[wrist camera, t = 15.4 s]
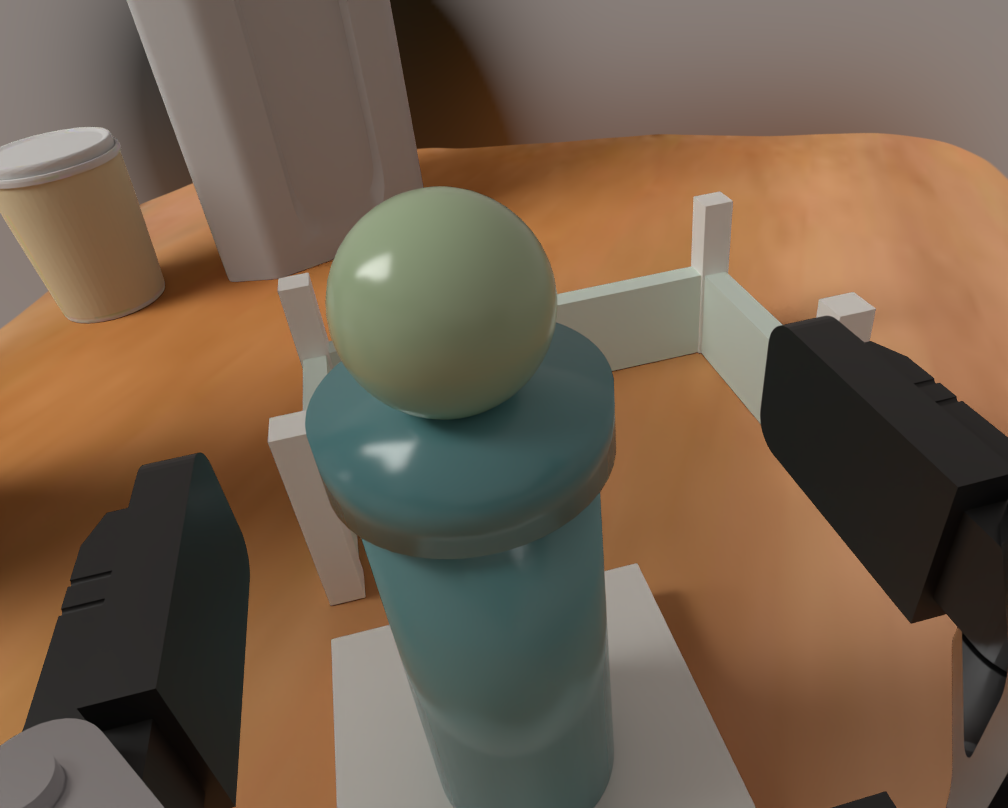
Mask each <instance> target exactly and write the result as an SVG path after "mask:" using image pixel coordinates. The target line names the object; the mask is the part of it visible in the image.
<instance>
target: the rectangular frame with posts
mask: <svg viewBox="0 0 1008 808" xmlns="http://www.w3.org/2000/svg"><path fill="white" fill-rule="evenodd" d="M732 208H733V201H732V200H731V199H729V198H728V197H727V196H725V195H724V194H723V193H721V192H715V193H710V194H705V195H700V196H695V197H694V201H693V229H692V257H691V267H687V268H682V269H677V270H672V271H667V272H663V273H658V274H653V275H648V276H643V277H638V278H634V279H629V280H624V281H619V282H614V283H609V284H605V285H600V286H595V287H590V288H585V289H580V290H576V291H571V292H566V293H561V294H557V318H556V322H557V323H560V324H562V325H565V326H567V327H569V328H571V329H573V330H575V331H577V332H579V333H580V334H582V335H583V336H585V337H586V338H588V339H589V340H590V341H591V342H593V343H594V344H595V345H596V346H597V347H598V348H599V349H600V351H601V352H602V353H603V354H604V356H605V357H606V359H607V361H608V363H609V365H610V367H611V370H612V371H614V370H619V369H623V368H628V367H633V366H637V365H642V364H646V363H651V362H655V361H660V360H664V359H669V358H673V357H678V356H683V355H687V354H692V353H696V352H698V353H702V354H703V355H704V357H705V358H706V359H707V360H708V361H709V363H710V364H711V365H712V366H713V367H714V369H715V370H716V371H717V372H718V373H719V375H720V376H721V377H722V378H723V379H724V381H725V382H726V383H727V384H728V385H729V387H730V388H731V389H732V390H733V391H734V393H735V394H736V395H737V396H738V397H739V399H740V400H741V401H742V402H743V403H744V404H745V406H746V407H747V408H748V409H749V410H750V412H751V413H752V414H753V415H754V416H755V418H756V419H757V420H758V421H759V422H760V424H761V421H760V409H761V400H762V392H763V384H764V376H765V367H766V359H767V351H768V343H769V338H770V335H771V332H772V331H773V329H774V328H776V327H777V326H781V325H782V324H781V323H780V322H779V321H778V320H777V319H776V318H775V317H774V316H773V315H772V314H770V313H769V312H768V311H767V310H766V309H765V308H764V307H763V306H762V305H761V304H760V303H759V302H758V301H757V300H755V299H754V298H753V297H752V296H751V295H750V294H749V293H748V292H747V291H746V290H745V289H744V288H743V287H742V286H740V285H739V284H738V283H737V282H736V281H735V280H734V279H733V278H732V277H731V276H730V275H729V274H728V267H729V252H730V238H731V223H732ZM278 294H279V297H280V300H281V303H282V306H283V309H284V312H285V315H286V319H287V322H288V325H289V328H290V331H291V334H292V337H293V340H294V343H295V346H296V349H297V352H298V355H299V359H300V362H301V365H302V368H303V411H300V412H295V413H291V414H286V415H282V416H277V417H272V418H269V432H268V444H269V447H270V449H271V452H272V455H273V457H274V460H275V462H276V465H277V468H278V470H279V473H280V475H281V478H282V481H283V483H284V486H285V488H286V491H287V494H288V496H289V499H290V501H291V504H292V507H293V509H294V512H295V514H296V517H297V520H298V522H299V525H300V527H301V530H302V533H303V535H304V538H305V540H306V543H307V546H308V548H309V551H310V553H311V556H312V559H313V561H314V564H315V566H316V569H317V572H318V574H319V577H320V579H321V582H322V585H323V587H324V590H325V592H326V595H327V598H328V600H329V603H330V605H331V606H332V605H336V604H340V603H344V602H348V601H352V600H357V599H361V598H365V597H366V596H365V584H364V572H363V569H362V566H361V563H360V560H359V552H358V540H357V535H356V534H355V533H354V532H352V531H351V530H350V529H348V528H347V527H346V526H345V524H344V523H343V522H342V521H341V520H340V519H339V518H338V517H337V515H336V513H335V512H334V510H333V509H332V507H331V505H330V502H329V499H328V496H327V494H326V491H325V488H324V485H323V482H322V479H321V476H320V474H319V471H318V468H317V465H316V462H315V459H314V456H313V453H312V450H311V448H310V445H309V442H308V439H307V436H306V429H305V418H306V411H307V408H308V405H309V401H310V399H311V397H312V395H313V393H314V391H315V389H316V388H317V386H318V385H319V384H320V382H321V381H322V380H323V378H324V377H325V376H326V375H327V374H328V373H329V372H330V371H331V370H332V369H333V368H334V367H335V366H336V365H337V364H338V363H339V362H341V359H340V357H339V355H338V353H337V351H336V349H335V347H334V344H333V341H328V337H327V334H326V330H325V327H324V324H323V320H322V317H321V313H320V310H319V307H318V303H317V300H316V296H315V293H314V290H313V286H312V283H311V279H310V276H309V273H304V274H299V275H293V276H288V277H283V278H279V280H278ZM875 311H876V309H875V308H874V307H873V306H871V305H870V304H869V303H867V302H866V301H865V300H863V299H862V298H861V297H859V296H858V295H857V294H856V293H854V292H851V293H846V294H842V295H837V296H832V297H828V298H823V299H819V303H818V310H817V316H816V318H817V317H822V316H826V315H827V316H832V317H834V318H835V319H837V320H838V321H839V322H841V323H842V324H843V325H844V326H845V327H847V328H848V329H849V330H850V331H851V332H853V333H854V334H855V335H856V336H857V337H859V338H860V339H861V340H862V341H863V342H869V341H870V336H871V331H872V326H873V321H874V316H875Z"/></svg>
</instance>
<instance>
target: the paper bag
mask: <svg viewBox="0 0 1008 808" xmlns="http://www.w3.org/2000/svg"><path fill="white" fill-rule="evenodd" d="M127 2H128V5H129V8H130V11H131V13H132V16H133V19H134V22H135V24H136V27H137V30H138V32H139V35H140V38H141V41H142V43H143V46H144V49H145V52H146V55H147V57H148V60H149V62H150V65H151V68H152V71H153V73H154V76H155V79H156V82H157V85H158V87H159V90H160V93H161V96H162V98H163V101H164V104H165V106H166V109H167V112H168V115H169V117H170V120H171V123H172V126H173V129H174V131H175V134H176V137H177V139H178V142H179V145H180V148H181V151H182V153H183V156H184V158H185V162H186V164H187V167H188V170H189V172H190V175H191V178H192V180H193V183H194V186H195V189H196V192H197V194H198V197H199V200H200V203H201V205H202V208H203V211H204V214H205V216H206V219H207V222H208V225H209V227H210V230H211V233H212V236H213V238H214V241H215V244H216V247H217V249H218V252H219V255H220V258H221V260H222V263H223V266H224V268H225V271H226V274H227V277H228V279H229V280H230V281H231V282H241V281H255V280H269V279H278V278H282V277H286V276H289V275H291V274H294V273H297V272H300V271H302V270H305V269H308V268H311V267H314V266H316V265H319V264H322V263H325V262H327V261H330V260H333V259H334V258H335V255H336V253H337V250H338V248H339V247H340V245H341V243H342V242H343V240H344V238H345V237H346V235H347V234H348V232H349V231H350V230H351V229H352V228H353V226H354V225H355V224H356V223H357V222H358V221H359V220H360V219H361V218H362V217H363V216H364V215H365V214H367V213H368V212H369V211H370V210H371V209H373V208H374V207H375V206H377V205H378V204H380V203H382V202H384V201H386V200H387V199H389V198H391V197H393V196H395V195H398V194H400V193H403V192H406V191H410V190H414V189H419V188H423V182H422V177H421V171H420V165H419V160H418V154H417V149H416V143H415V138H414V133H413V128H412V122H411V116H410V111H409V105H408V100H407V94H406V88H405V83H404V78H403V72H402V66H401V61H400V55H399V50H398V44H397V39H396V34H395V28H394V22H393V17H392V11H391V6H390V0H127Z"/></svg>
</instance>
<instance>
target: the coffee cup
mask: <svg viewBox="0 0 1008 808" xmlns="http://www.w3.org/2000/svg"><path fill="white" fill-rule="evenodd" d="M120 151H121V146H120V144H119V141H118V140H117V139H116V138H115V137H113V136H112V134H111V133H110V132H109V131H108V130H107V129H104V128H98V127H81V128H71V129H65V130H59V131H53V132H48V133H44V134H39V135H35V136H31V137H28V138H24V139H21V140H18V141H15V142H12V143H9V144H6V145H4V146H1V147H0V213H1V214H2V216H3V218H4V220H5V221H6V223H7V224H8V226H9V228H10V229H11V231H12V232H13V234H14V236H15V238H16V239H17V241H18V242H19V244H20V246H21V247H22V249H23V250H24V252H25V254H26V255H27V257H28V259H29V260H30V261H31V263H32V265H33V267H34V268H35V270H36V271H37V273H38V274H39V276H40V278H41V279H42V281H43V283H44V284H45V286H46V287H47V289H48V291H49V292H50V294H51V295H52V297H53V299H54V300H55V302H56V303H57V305H58V306H59V308H60V309H61V311H62V312H63V314H64V315H65V316H66V317H67V318H68V319H69V320H71V321H74V322H77V323H96V322H103V321H108V320H113V319H116V318H120V317H123V316H126V315H128V314H131V313H134V312H136V311H138V310H140V309H142V308H144V307H146V306H148V305H149V304H151V303H152V302H154V301H155V300H156V299H157V298H158V297H159V296H160V295H161V294H162V293H163V291H164V289H165V282H164V278H163V275H162V272H161V269H160V265H159V262H158V259H157V256H156V253H155V251H154V248H153V245H152V242H151V239H150V236H149V233H148V230H147V227H146V224H145V221H144V218H143V215H142V212H141V209H140V206H139V203H138V200H137V197H136V194H135V191H134V188H133V185H132V183H131V180H130V177H129V174H128V171H127V169H126V166H125V163H124V161H123V158H122V155H121V153H120Z"/></svg>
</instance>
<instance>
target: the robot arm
mask: <svg viewBox="0 0 1008 808" xmlns="http://www.w3.org/2000/svg"><path fill="white" fill-rule="evenodd" d="M956 397H957V396H955V395H954V394H953V393H952V392H951V391H949V390H948V389H947V388H946V387H944V386H943V385H942V384H941V383H937V384H936V383H935V381H934V378H933V377H932V376H931V375H929V374H928V373H927V372H926V371H924V370H923V369H922V368H921V367H919V366H918V365H917V364H916V363H914V362H913V361H912V360H911V359H909V358H908V357H907V356H904V355H902V354H900V353H897V352H895V351H893V350H890V349H888V348H886V347H883V346H881V345H879V344H876V343H874V342H872V341H869V342H863V341H862V340H861V339H860V338H859V337H857V336H856V335H855V334H854V333H853V332H851V331H850V330H849V329H848V328H847V327H845V326H844V325H843V324H842V323H841V322H839V321H838V320H837V319H835V318H834V317H832V316H827V315H826V316H822V317H817V318H812V319H808V320H803V321H799V322H794V323H790V324H785V325H781V326H777V327H776V328H774V329H773V331H772V332H771V335H770V338H769V343H768V351H767V359H766V367H765V376H764V384H763V392H762V400H761V409H760V421H761V427H762V432H763V435H764V438H765V441H766V443H767V445H768V447H769V449H770V450H771V452H772V453H773V455H774V456H775V457H776V458H777V460H778V461H779V462H780V463H781V465H782V466H783V467H784V468H785V469H786V471H787V472H788V473H789V474H790V476H791V477H792V478H793V479H794V481H795V482H796V483H797V484H798V485H799V487H800V488H801V489H802V490H803V492H804V493H805V494H806V495H807V497H808V498H809V499H810V500H811V501H812V503H813V504H814V505H815V506H816V508H817V509H818V510H819V511H820V513H821V514H822V515H823V516H824V517H825V519H826V520H827V521H828V522H829V524H830V525H831V526H832V527H833V529H834V530H835V531H836V532H837V533H838V535H839V536H840V537H841V538H842V540H843V541H844V542H845V543H846V545H847V546H848V547H849V548H850V549H851V551H852V552H853V553H854V554H855V556H856V557H857V558H858V559H859V561H860V562H861V563H862V564H863V565H864V567H865V568H866V569H867V570H868V572H869V573H870V574H871V575H872V577H873V578H874V579H875V580H876V581H877V583H878V584H879V585H880V586H881V588H882V589H883V590H884V591H885V593H886V594H887V595H888V596H889V597H890V599H891V600H892V601H893V602H894V604H895V605H896V606H897V607H898V609H899V610H900V611H901V612H902V613H903V615H904V616H905V617H906V618H907V620H908V621H909V622H910V623H911V624H912V623H915V622H919V621H923V620H926V619H930V618H934V617H937V616H941V615H944V614H947V615H948V616H949V618H950V619H951V620H952V621H953V622H954V623H955V624H956V626H957V629H956V632H955V634H954V637H953V640H952V781H951V788H950V793H949V798H948V802H947V806H946V808H1008V437H1007V436H1005V435H1004V434H1003V433H1002V432H1000V431H999V430H998V429H997V428H995V427H994V426H993V425H992V424H990V423H989V422H988V421H987V420H985V419H984V418H983V417H982V416H980V415H979V414H978V413H977V412H975V411H974V410H973V409H972V408H970V407H969V406H968V405H967V404H965V403H964V402H963V401H960V402H958V401H957V398H956ZM70 581H71V586H70V587H68V588H67V591H66V595H65V598H64V601H63V604H62V607H61V610H62V616H59V617H58V620H57V623H56V626H55V630H54V633H53V636H52V639H51V642H50V646H49V649H48V652H47V655H46V658H45V662H44V665H43V668H42V671H41V674H40V677H39V681H38V684H37V687H36V690H35V693H34V697H33V700H32V703H31V706H30V709H29V713H28V716H27V719H26V722H25V725H24V728H23V731H22V732H21V733H19V734H18V735H16V736H14V737H12V738H11V739H9V740H8V741H7V742H5V743H4V744H2V745H1V746H0V808H233V807H236V791H237V775H238V759H239V743H240V727H241V711H242V695H243V679H244V663H245V647H246V631H247V615H248V599H249V583H250V568H249V559H248V553H247V549H246V545H245V541H244V538H243V535H242V532H241V530H240V528H239V526H238V523H237V521H236V519H235V517H234V515H233V512H232V510H231V508H230V506H229V504H228V501H227V499H226V497H225V495H224V493H223V490H222V488H221V486H220V484H219V482H218V479H217V477H216V475H215V473H214V471H213V468H212V466H211V464H210V462H209V460H208V459H207V457H206V456H205V455H204V454H203V453H195V454H191V455H186V456H182V457H177V458H173V459H168V460H164V461H159V462H155V463H150V464H146V465H142V466H141V467H140V468H139V470H138V473H137V476H136V480H135V484H134V488H133V491H132V495H131V499H130V503H129V507H128V508H126V509H122V510H117V511H113V512H108V513H106V514H105V516H104V517H103V518H102V520H101V521H100V522H99V523H98V525H97V526H96V527H95V528H94V530H93V531H92V532H91V534H90V535H89V536H88V537H87V539H86V540H85V541H84V542H83V544H82V545H81V547H80V550H79V553H78V556H77V559H76V563H75V566H74V569H73V572H72V575H71V579H70ZM832 808H896V806H895V805H894V803H893V801H892V800H891V798H890V797H889V795H888V794H887V792H886V791H885V792H882V793H879V794H875V795H872V796H869V797H865V798H862V799H859V800H855V801H852V802H849V803H846V804H842V805H839V806H836V807H832Z"/></svg>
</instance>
